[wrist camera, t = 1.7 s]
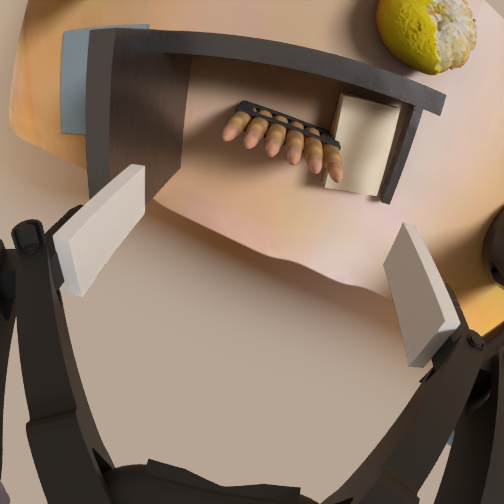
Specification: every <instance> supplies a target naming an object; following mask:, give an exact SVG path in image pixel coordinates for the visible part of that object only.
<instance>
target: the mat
mask: <svg viewBox="0 0 504 504" xmlns="http://www.w3.org/2000/svg"><path fill="white" fill-rule="evenodd" d="M105 28H137V29H149V24H141V25H119V26H106V27H95V28H86V29H78V30H71V31H65V32H64V34H63V46H62V63H61V132H62V133H70V134H83V135H86V126H85V101H86V71H87V55H88V43H89V33H90V30H94V29H105Z"/></svg>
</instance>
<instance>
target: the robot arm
mask: <svg viewBox="0 0 504 504" xmlns="http://www.w3.org/2000/svg"><path fill="white" fill-rule="evenodd" d="M144 214H145V166H142V165H136V164H131V165H130V166H128V167H127V168H126V169H125V170H124V171H122V172H121V173H120V174H119V175H118V176H116V177H115V178H114V179H113V180H112V181H111V182H109V183H108V184H107V185H106V186H105V187H104V188H103V189H101V190H100V191H99V192H98V193H97V194H96V195H95V196H94V197H93V198H91V199H90V200H89V201H88V202H87V203H86V204H85V205H78V206H76V207H74V208H72V209H70V210H69V211H68V212H67V213H66V214H65V215H64V216H63V217H62V218H61V219H60V220H59V221H58V223H57V222H56V223H55V224H54V225H53V226H52V227H51V228H50V229H49V230H48V231H47V232H46V233H45V234H44V230H43V225H42V223H41V222H40V221H38V220H34V219H31V220H26V221H23V222H21V223H19V224H17V225H16V226H15V227H14V228H13V229H12V232H11V235H12V239H13V242H14V245H15V249H5V247H4V244H3V242H2V240H1V239H0V480H1V471H2V451H3V448H2V436H3V430H2V429H3V408H4V393H5V382H6V374H7V365H8V358H9V351H10V344H11V339H12V334H13V328H14V323H15V318H16V317H17V333H18V344H19V353H20V362H21V369H22V376H23V383H24V389H25V395H26V399H27V405H28V410H29V415H30V421H29V422H27V424H26V432H27V438H28V442H29V446H30V449H31V453H32V457H33V460H34V463H35V467H36V470H37V473H38V476H39V479H40V482H41V485H42V488H43V491H44V494H45V496H46V499H47V502H48V504H319V503H317V502H316V501H314V500H312V499H310V498H308V497H306V496H304V495H301V494H300V487H288V486H287V487H286V486H278V485H269V484H258V485H247V486H232V487H231V486H230V487H224V486H220V485H218V484H215V483H213V482H211V481H209V480H206V479H204V478H202V477H200V476H198V475H196V474H194V473H192V472H190V471H188V470H186V469H183V468H179V467H175V466H172V465H168V464H165V463H161V462H158V461H154V460H151V459H148V462H147V465H143V464H137V465H126V466H121V467H118V468H115V466H114V464H113V462H112V460H111V458H110V456H109V454H108V452H107V450H106V449H105V447H104V445H103V442H102V440H101V438H100V435H99V432H98V430H97V428H96V425H95V422H94V419H93V416H92V413H91V410H90V408H89V404H88V402H87V398H86V395H85V392H84V389H83V386H82V383H81V379H80V376H79V372H78V369H77V365H76V361H75V357H74V353H73V349H72V345H71V341H70V337H69V333H68V328H67V323H66V318H65V313H64V308H63V303H62V297H61V293H60V290H59V288H60V287H61V285H62V284H63V283H65V287H66V290H67V293H70V294H73V295H76V296H79V297H83V296H84V294H85V293H86V291H87V290H88V289H89V287H90V286H91V284H92V283H93V281H94V280H95V279H96V277H97V276H98V274H99V273H100V271H101V270H102V269H103V267H104V266H105V265H106V263H107V262H108V260H109V259H110V258H111V256H112V255H113V254H114V252H115V251H116V250H117V248H118V247H119V246H120V244H121V243H122V242H123V240H124V239H125V238H126V237H127V235H128V234H129V233H130V231H131V230H132V229H133V227H134V226H135V225H136V224H137V223H138V221H139V220H140V219H141V217H142V216H143V215H144ZM482 257H483V264H484V267H485V269H486V271H487V272H488V274H489V276H490V277H491V279H492V280H493V282H494V283H495V284H496V285H498V286H499V287H500V288H502V289H503V290H504V208H503V209H502V210H501V212H500V213H499V214H498V215H497V216H496V218H495V219H494V221H493V222H492V224H491V226H490V228H489V230H488V232H487V235H486V237H485V241H484V245H483V252H482ZM383 265H384V269H385V272H386V276H387V279H388V283H389V286H390V290H391V294H392V297H393V301H394V305H395V309H396V312H397V317H398V321H399V325H400V329H401V333H402V338H403V342H404V347H405V352H406V356H407V361H408V366H410V367H421V368H423V367H424V366H425V365H426V364H427V363H428V362H429V361H430V360H431V359H432V363H433V368H431V369H430V371H429V372H428V373H427V374H426V375H425V376H424V377H423V378H422V379H421V380H420V381H419V382H420V383H421V382H422V383H421V385H420V386H419V388H418V389H417V391H416V392H415V394H414V395H413V397H412V398H411V400H410V401H409V403H408V404H407V406H406V407H405V409H404V410H403V411H402V413H401V414H400V416H399V417H398V419H397V420H396V421H395V423H394V424H393V425H392V427H391V428H390V429H389V431H388V432H387V433H386V435H385V436H384V437H383V439H382V440H381V441H380V442H379V444H378V445H377V446H376V448H375V449H374V450H373V451H372V452H371V454H370V455H369V456H368V457H367V458H366V460H365V461H364V462H363V463H362V464H361V465H360V467H359V468H358V469H357V470H356V471H355V472H354V473H353V474H352V476H351V477H350V478H349V479H348V480H347V481H346V482H345V483H344V484H343V485H342V486H341V487H340V488H339V489H338V490H337V491H336V492H335V493H333V494H332V495H331V496H329V497H328V498H327V499H326V500H324V501H323V502H322V503H321V504H419V500H420V499H419V498H418V497H417V493H418V491H419V489H420V488H421V486H422V485H423V483H424V481H425V480H426V478H427V477H428V475H429V473H430V472H431V470H432V468H433V467H434V465H435V463H436V461H437V460H438V458H439V456H440V454H441V453H442V451H443V449H444V447H445V445H446V443H447V444H449V445H451V450H450V453H449V457H448V461H447V464H446V468H445V472H444V474H443V478H442V481H441V484H440V487H439V490H438V493H437V496H436V499H435V501H434V504H504V321H503V322H501V323H500V324H499V325H497V326H496V327H495V328H493V329H492V330H491V331H489V332H488V333H486V334H485V335H483V336H482V337H481V336H480V335H479V334H478V333H477V332H475V331H473V330H470V329H469V327H468V325H467V322H466V320H465V317H464V315H463V312H462V310H461V308H460V305H459V303H458V302H457V298H456V296H455V294H454V292H453V290H452V289H451V288H450V287H449V285H448V284H447V283H444V282H443V280H442V278H441V276H440V274H439V271H438V269H437V267H436V265H435V263H434V261H433V259H432V257H431V255H430V253H429V251H428V249H427V247H426V245H425V243H424V241H423V239H422V237H421V235H420V233H419V231H418V229H417V227H416V226H414V225H411V224H407V223H404V222H403V224H402V226H401V228H400V231H399V233H398V235H397V237H396V239H395V241H394V244H393V246H392V248H391V250H390V252H389V254H388V256H387V258H386V260H385V262H384V264H383ZM0 504H10V498H9V496H8V494H7V492H6V491H5V488H4V486H3V484H2V483H1V482H0Z"/></svg>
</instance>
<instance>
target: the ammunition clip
mask: <svg viewBox="0 0 504 504" xmlns="http://www.w3.org/2000/svg"><path fill="white" fill-rule="evenodd" d="M249 123H250V124H249ZM248 124H249V125H248ZM267 129H268V131H267ZM243 131H246V134H245V136H244V140H243V144H244V147H245V148H246V149H251V148H253V147H255V146H256V145H257V143H258V142H259V141H260V140H261V139H262V138H263V137H264V138H265V141H266V144H265V152H266V154H267V156H269V157H273V156H275V155H276V154H277V153H278V152H279V150H280V147H281V146H282V145H285V150H286V157H287V160H288V162H289V163H290V164H291V165H296V164H297V163H298V162H299V160H300V158H301V153H302V152H304V154H305V158H306V160H307V163H308V167H309V169H310V171H311V172H312V173H314V174H318V173H319V172H320V171H321V168H322V160H323V162H324V165H325V167H326V168H327V170H328V173H329V175H330V177H331V179H332V180H333V181H334V182H336V183H339V182H341V180H342V177H343V170H342V158H341V155H340V153H339V150H340V149H341V146H340V143H339V141H336V140H335V139H334V138H333V136H331V134H330V132H329V131H326V130H324V129H322V128H319V127H317V126H314V125H312V124H309V123H307V122H304V121H301V120H299V119H296V118H294V117H291V116H288V115H286V114H283V113H280V112H277V111H274V110H272V109H269V108H266V107H263V106H260V105H257V104H254V103H251V102H248V101H242V102H241V104H240V105H239V106H238V108H237V109H236V113H235V114H234V115H233V116H232V117H231V118H230V119H229V120H228V121H227V123H226V126H225V127H224V129H223V131H222V134H221V138H222V140H223V141H225V142H227V141H231V140H233V139H234V138H235V137H236V136H237V135H238V134H241V133H242V132H243ZM266 131H267V134H265V133H266ZM285 135H286V140H285ZM284 140H285V141H284ZM338 149H339V150H338Z"/></svg>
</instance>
